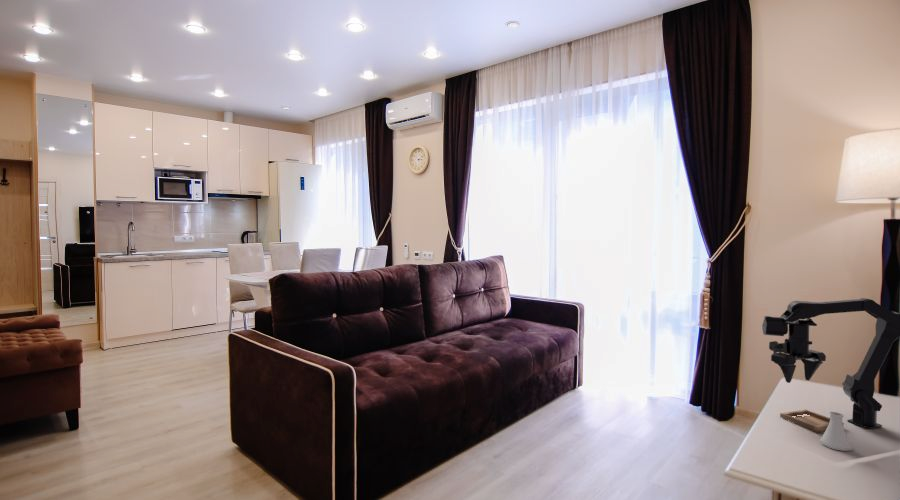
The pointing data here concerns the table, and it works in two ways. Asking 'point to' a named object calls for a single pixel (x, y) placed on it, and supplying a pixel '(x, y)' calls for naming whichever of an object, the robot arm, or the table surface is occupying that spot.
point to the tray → (808, 420)
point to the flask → (836, 434)
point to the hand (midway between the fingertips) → (797, 381)
